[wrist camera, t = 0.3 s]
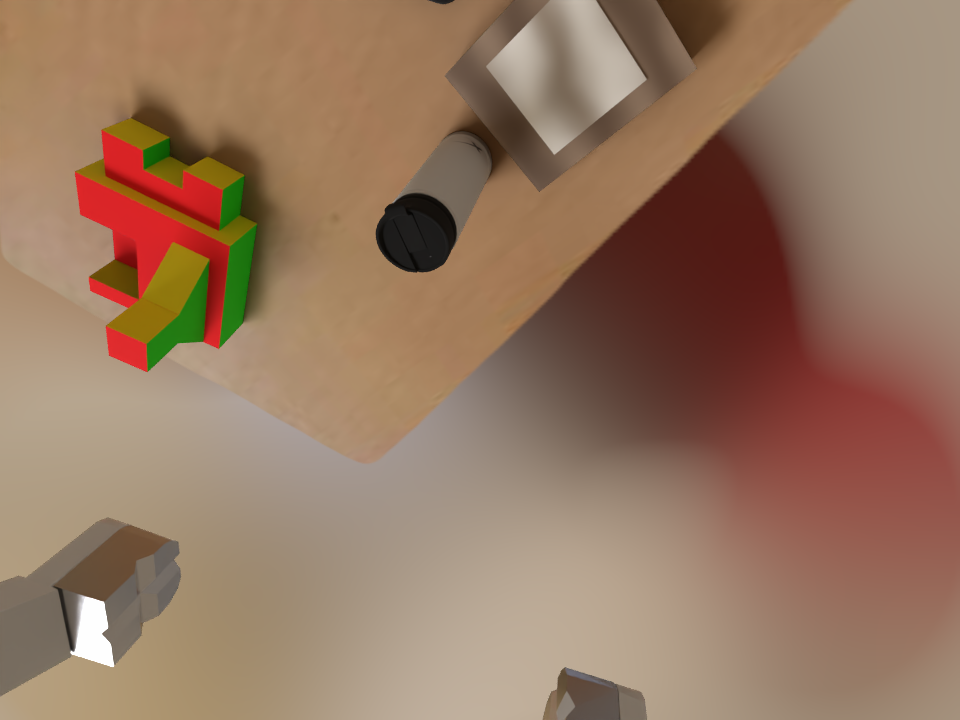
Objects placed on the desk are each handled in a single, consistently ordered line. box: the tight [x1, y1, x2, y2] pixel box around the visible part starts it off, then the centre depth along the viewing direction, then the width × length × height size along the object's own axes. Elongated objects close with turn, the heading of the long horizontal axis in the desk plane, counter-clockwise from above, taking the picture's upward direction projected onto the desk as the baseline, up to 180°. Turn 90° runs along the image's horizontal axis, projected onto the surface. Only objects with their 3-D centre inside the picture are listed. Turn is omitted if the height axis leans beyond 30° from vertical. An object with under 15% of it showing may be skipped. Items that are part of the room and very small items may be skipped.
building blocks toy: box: [75, 118, 257, 372], centre depth 63 cm, size 19×25×18 cm
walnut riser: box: [445, 0, 697, 192], centre depth 46 cm, size 17×14×4 cm
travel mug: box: [376, 131, 492, 273], centre depth 48 cm, size 6×7×20 cm
